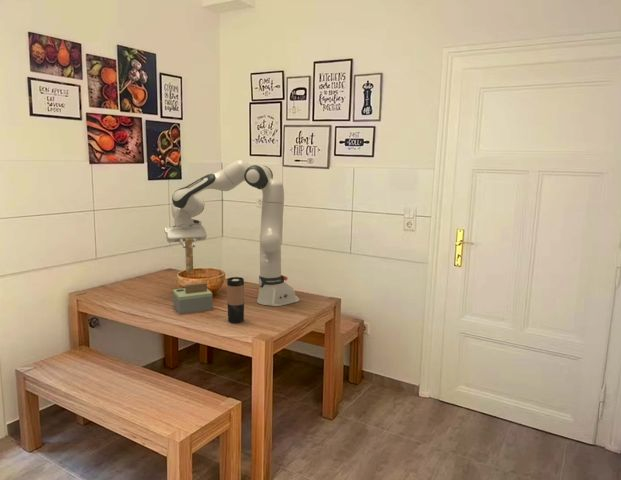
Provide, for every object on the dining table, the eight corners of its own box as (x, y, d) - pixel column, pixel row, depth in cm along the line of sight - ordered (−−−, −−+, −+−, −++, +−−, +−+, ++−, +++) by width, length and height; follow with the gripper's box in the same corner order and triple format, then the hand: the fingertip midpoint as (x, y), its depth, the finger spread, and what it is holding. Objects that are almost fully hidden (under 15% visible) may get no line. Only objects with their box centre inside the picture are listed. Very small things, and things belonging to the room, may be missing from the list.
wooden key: (191, 271, 243) (190, 238, 240) (193, 272, 241) (192, 239, 238) (186, 272, 242) (185, 238, 239) (187, 273, 239) (186, 239, 236)
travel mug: (247, 319, 220) (246, 278, 216) (239, 324, 213) (238, 282, 209) (232, 317, 222) (232, 276, 219) (224, 322, 215) (223, 280, 212)
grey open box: (204, 303, 242) (204, 288, 240) (212, 311, 230) (212, 296, 228) (173, 307, 234) (172, 292, 233) (179, 316, 222) (179, 300, 221)
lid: (204, 288, 240) (204, 278, 239) (212, 296, 228) (212, 285, 227) (172, 292, 233) (172, 281, 232) (179, 300, 221) (178, 289, 220)
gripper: (164, 222, 238) (169, 245, 231) (204, 220, 248) (209, 242, 241) (162, 230, 242) (167, 252, 236) (201, 228, 252) (207, 249, 245)
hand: (189, 247), depth 238 cm, fingers closed on wooden key, 3 cm apart
